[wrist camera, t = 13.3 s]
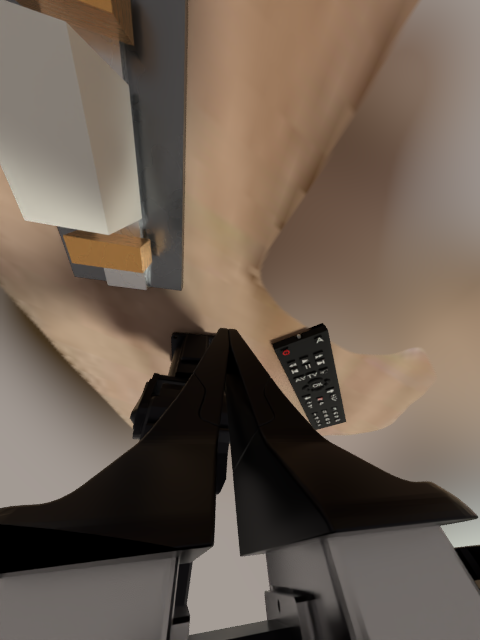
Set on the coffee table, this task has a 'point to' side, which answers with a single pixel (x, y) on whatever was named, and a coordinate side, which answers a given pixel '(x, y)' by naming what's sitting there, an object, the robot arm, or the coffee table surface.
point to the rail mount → (138, 135)
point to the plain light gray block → (64, 127)
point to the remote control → (313, 375)
